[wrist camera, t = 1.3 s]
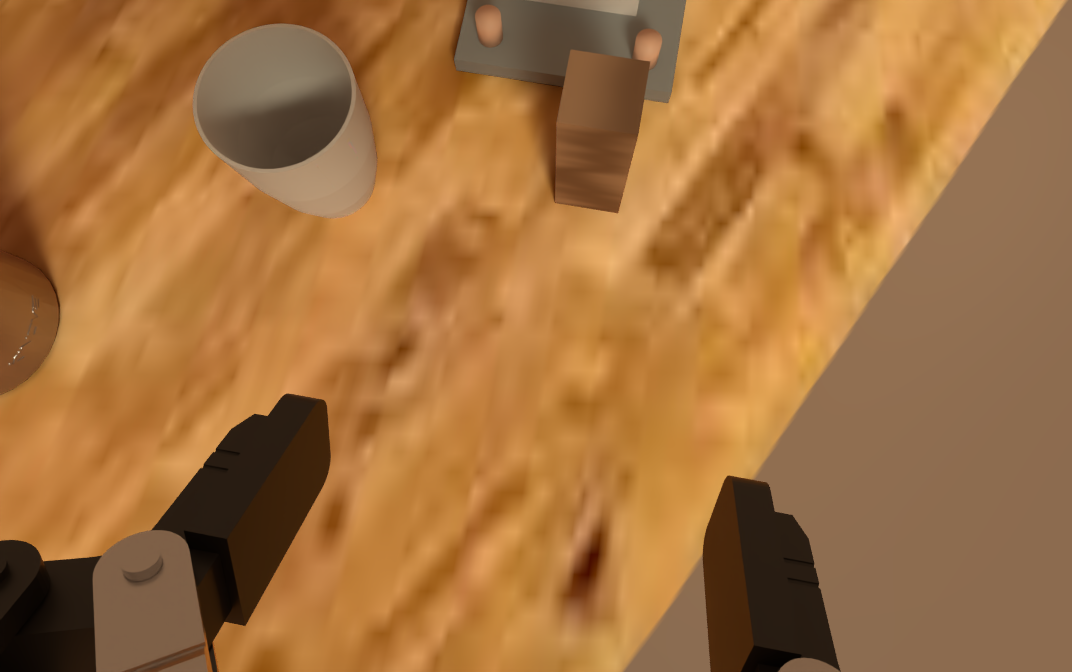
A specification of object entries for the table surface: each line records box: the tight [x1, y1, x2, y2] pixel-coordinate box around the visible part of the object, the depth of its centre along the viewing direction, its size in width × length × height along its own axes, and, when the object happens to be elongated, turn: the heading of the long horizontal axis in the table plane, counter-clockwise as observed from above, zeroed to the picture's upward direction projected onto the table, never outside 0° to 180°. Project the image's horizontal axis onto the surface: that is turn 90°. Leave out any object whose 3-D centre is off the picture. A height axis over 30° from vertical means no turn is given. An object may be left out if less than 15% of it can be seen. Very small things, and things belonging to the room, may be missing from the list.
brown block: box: [555, 50, 650, 213], centre depth 39 cm, size 4×4×10 cm
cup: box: [193, 24, 377, 218], centre depth 39 cm, size 8×8×10 cm
